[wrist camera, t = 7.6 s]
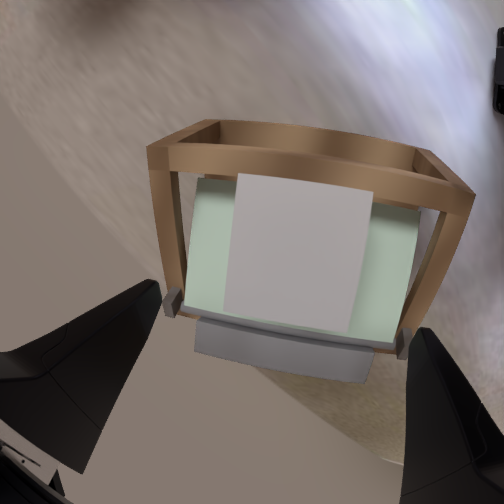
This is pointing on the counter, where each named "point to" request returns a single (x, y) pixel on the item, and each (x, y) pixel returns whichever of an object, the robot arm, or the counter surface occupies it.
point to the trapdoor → (287, 335)
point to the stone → (296, 251)
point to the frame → (313, 170)
